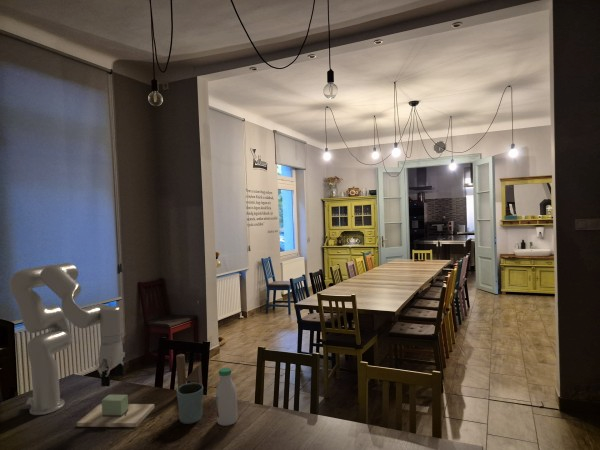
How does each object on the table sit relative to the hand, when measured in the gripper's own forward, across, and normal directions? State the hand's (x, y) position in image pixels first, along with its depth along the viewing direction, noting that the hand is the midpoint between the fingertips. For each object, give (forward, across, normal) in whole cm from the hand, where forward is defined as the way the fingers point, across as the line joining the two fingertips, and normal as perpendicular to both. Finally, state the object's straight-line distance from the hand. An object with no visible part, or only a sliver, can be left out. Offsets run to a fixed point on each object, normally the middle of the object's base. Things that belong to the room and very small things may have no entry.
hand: (112, 380), depth 161 cm
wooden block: (+14, -19, +24) cm, 34 cm away
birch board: (+15, 0, +1) cm, 15 cm away
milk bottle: (+14, +2, +47) cm, 49 cm away
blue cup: (+14, 0, +32) cm, 35 cm away
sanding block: (+13, 0, +1) cm, 13 cm away
